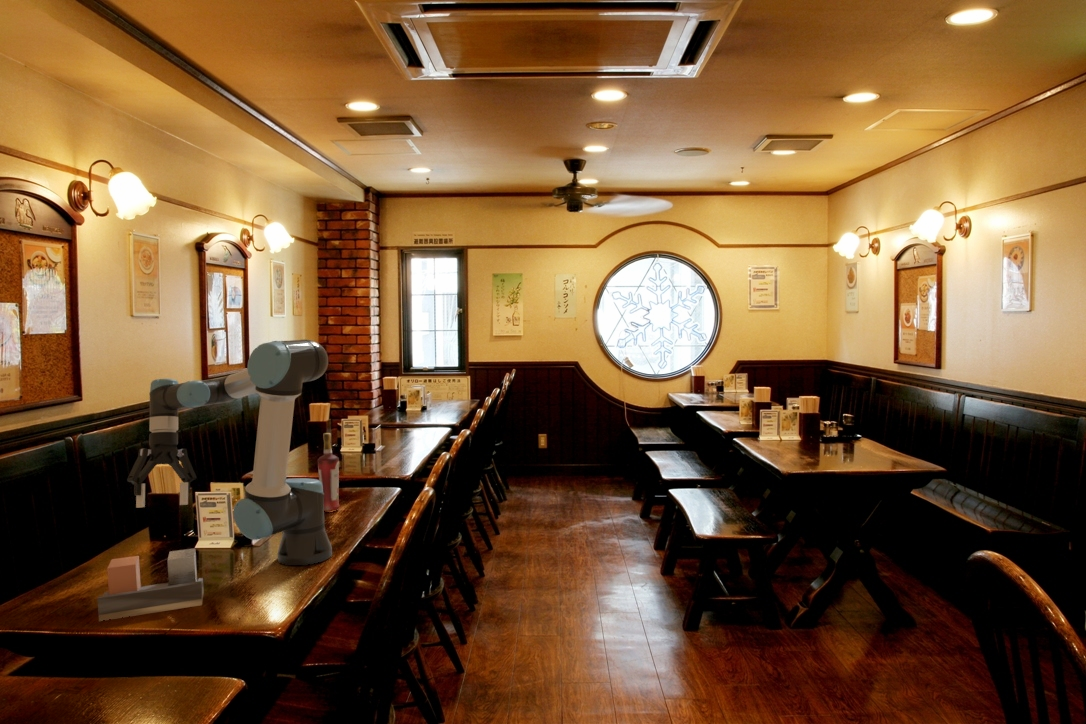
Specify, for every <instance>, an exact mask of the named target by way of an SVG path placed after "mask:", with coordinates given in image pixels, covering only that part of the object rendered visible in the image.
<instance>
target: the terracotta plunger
mask: <svg viewBox="0 0 1086 724" xmlns="http://www.w3.org/2000/svg"><path fill="white" fill-rule="evenodd" d="M140 568H141V567H140V556H139V555H136V556H135V555H134V556H126V557H119V558H112V559H111V560H110V562H109V563H108V566H107V568H106V569H107V579H108V580H107V581H108V583H107V584H108V591H109V595H111V594H118V593H125V592H131V591H138V590H140V588H141V587H142V584H141V571H140Z"/></svg>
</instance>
